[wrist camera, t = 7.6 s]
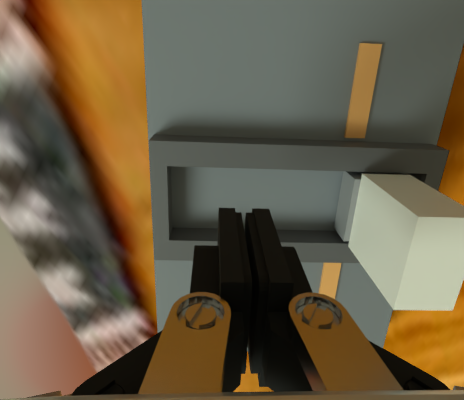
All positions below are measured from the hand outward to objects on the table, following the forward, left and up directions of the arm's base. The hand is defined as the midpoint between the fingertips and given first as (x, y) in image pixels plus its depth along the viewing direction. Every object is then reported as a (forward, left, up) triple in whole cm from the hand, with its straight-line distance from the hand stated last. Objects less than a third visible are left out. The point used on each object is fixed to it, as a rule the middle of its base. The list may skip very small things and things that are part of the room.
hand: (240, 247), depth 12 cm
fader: (+1, +7, -7) cm, 10 cm away
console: (+1, +3, -9) cm, 10 cm away
